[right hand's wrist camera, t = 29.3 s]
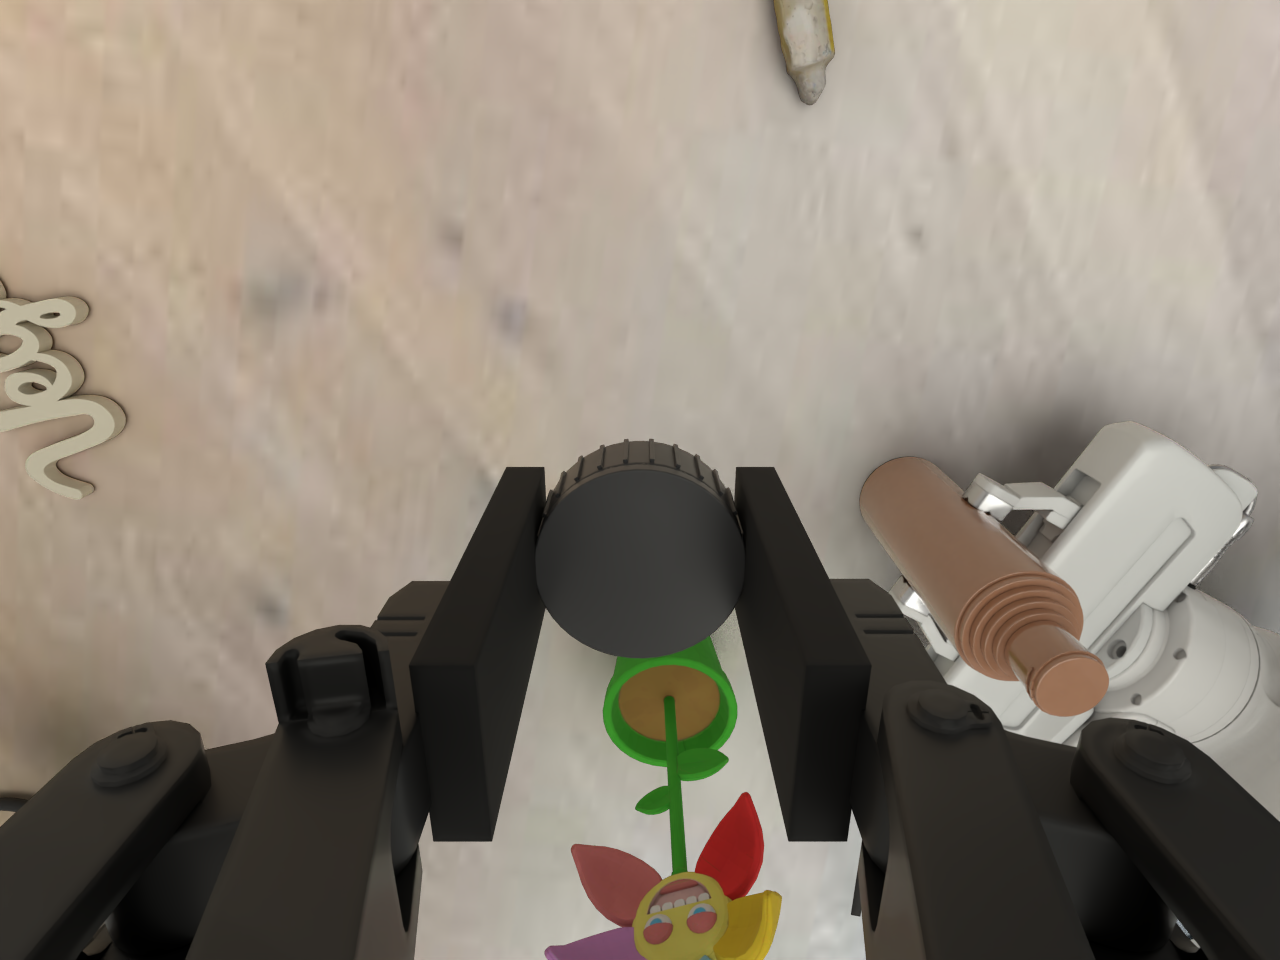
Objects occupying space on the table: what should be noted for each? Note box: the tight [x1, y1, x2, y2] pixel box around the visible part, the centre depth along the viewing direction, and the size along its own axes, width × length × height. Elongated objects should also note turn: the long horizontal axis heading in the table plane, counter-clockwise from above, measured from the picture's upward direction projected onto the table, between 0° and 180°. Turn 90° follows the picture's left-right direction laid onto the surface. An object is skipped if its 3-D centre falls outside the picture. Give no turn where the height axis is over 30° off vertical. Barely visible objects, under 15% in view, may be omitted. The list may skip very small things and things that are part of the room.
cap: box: [535, 439, 746, 658], centre depth 14 cm, size 4×4×2 cm
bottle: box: [860, 457, 1109, 717], centre depth 36 cm, size 5×5×18 cm
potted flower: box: [545, 636, 782, 960], centre depth 36 cm, size 9×8×25 cm
